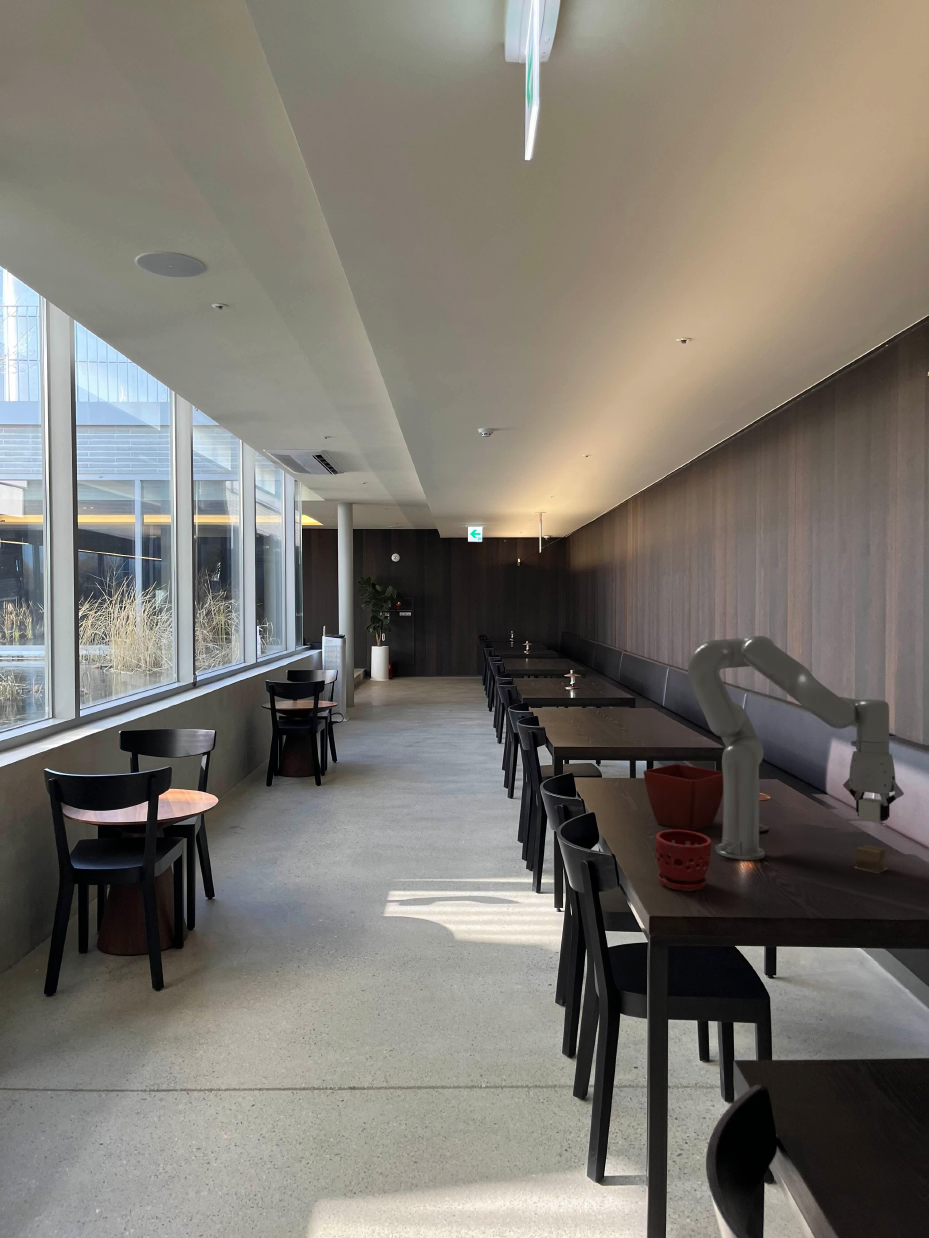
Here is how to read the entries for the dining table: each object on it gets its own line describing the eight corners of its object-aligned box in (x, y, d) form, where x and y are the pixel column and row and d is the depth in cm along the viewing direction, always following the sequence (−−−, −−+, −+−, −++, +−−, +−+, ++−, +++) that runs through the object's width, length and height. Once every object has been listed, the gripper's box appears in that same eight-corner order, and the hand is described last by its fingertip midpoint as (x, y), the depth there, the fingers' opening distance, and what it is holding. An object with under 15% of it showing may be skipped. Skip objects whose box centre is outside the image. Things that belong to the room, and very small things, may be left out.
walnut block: (877, 872, 204) (877, 852, 204) (856, 867, 208) (857, 848, 208) (885, 868, 207) (885, 848, 207) (865, 863, 211) (865, 844, 211)
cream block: (878, 823, 204) (878, 803, 204) (858, 819, 208) (858, 800, 208) (886, 819, 207) (886, 800, 207) (866, 816, 211) (866, 797, 211)
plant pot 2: (644, 885, 196) (645, 835, 196) (673, 873, 205) (673, 826, 205) (693, 898, 186) (693, 847, 186) (720, 885, 196) (721, 836, 196)
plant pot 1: (694, 836, 240) (694, 780, 240) (641, 823, 254) (641, 770, 254) (728, 825, 253) (728, 772, 252) (675, 814, 267) (676, 763, 267)
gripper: (833, 745, 211) (833, 814, 211) (902, 753, 198) (902, 826, 198) (845, 742, 216) (845, 809, 216) (913, 750, 203) (913, 821, 203)
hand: (872, 817), depth 207 cm, fingers closed on cream block, 5 cm apart
